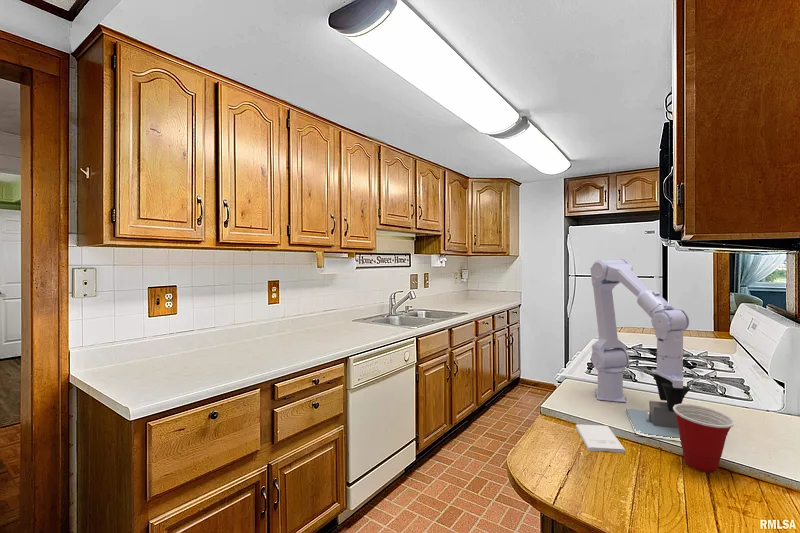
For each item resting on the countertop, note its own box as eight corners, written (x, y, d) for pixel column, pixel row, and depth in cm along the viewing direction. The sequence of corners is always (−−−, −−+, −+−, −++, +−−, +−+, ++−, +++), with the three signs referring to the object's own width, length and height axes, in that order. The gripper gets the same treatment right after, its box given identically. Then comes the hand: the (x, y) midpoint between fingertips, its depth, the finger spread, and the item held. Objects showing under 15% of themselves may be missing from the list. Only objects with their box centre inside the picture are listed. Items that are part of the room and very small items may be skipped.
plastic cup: (738, 486, 81) (739, 427, 80) (673, 471, 86) (673, 416, 86) (730, 461, 90) (730, 408, 89) (671, 449, 95) (672, 399, 95)
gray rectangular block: (649, 418, 110) (649, 400, 110) (679, 421, 107) (679, 403, 107) (653, 425, 106) (653, 407, 105) (685, 429, 103) (685, 410, 103)
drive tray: (626, 411, 117) (626, 399, 117) (700, 419, 110) (700, 407, 110) (635, 436, 102) (636, 422, 102) (722, 447, 96) (722, 432, 95)
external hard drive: (608, 431, 106) (625, 455, 94) (575, 430, 108) (588, 453, 96) (608, 425, 106) (625, 448, 94) (575, 424, 108) (588, 446, 96)
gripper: (645, 347, 114) (645, 394, 114) (659, 361, 100) (659, 415, 101) (674, 348, 111) (674, 396, 112) (693, 363, 98) (692, 418, 98)
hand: (669, 405), depth 106 cm, fingers open, 7 cm apart
